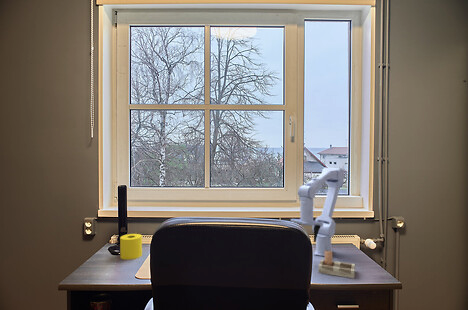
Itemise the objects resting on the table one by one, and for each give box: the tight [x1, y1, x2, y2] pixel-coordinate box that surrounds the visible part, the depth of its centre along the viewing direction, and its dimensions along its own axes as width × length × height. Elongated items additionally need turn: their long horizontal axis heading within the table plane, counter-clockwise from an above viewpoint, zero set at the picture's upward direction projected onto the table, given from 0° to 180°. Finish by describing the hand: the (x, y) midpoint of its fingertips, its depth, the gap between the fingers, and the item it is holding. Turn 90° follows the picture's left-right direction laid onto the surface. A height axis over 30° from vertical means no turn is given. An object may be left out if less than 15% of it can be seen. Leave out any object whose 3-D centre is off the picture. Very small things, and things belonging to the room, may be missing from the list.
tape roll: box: [119, 233, 143, 261], centre depth 146 cm, size 10×10×9 cm
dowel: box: [324, 251, 333, 266], centre depth 129 cm, size 3×3×7 cm
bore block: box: [318, 259, 356, 279], centre depth 128 cm, size 8×14×3 cm, turn 66°
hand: (306, 240), depth 139 cm, fingers open, 7 cm apart
